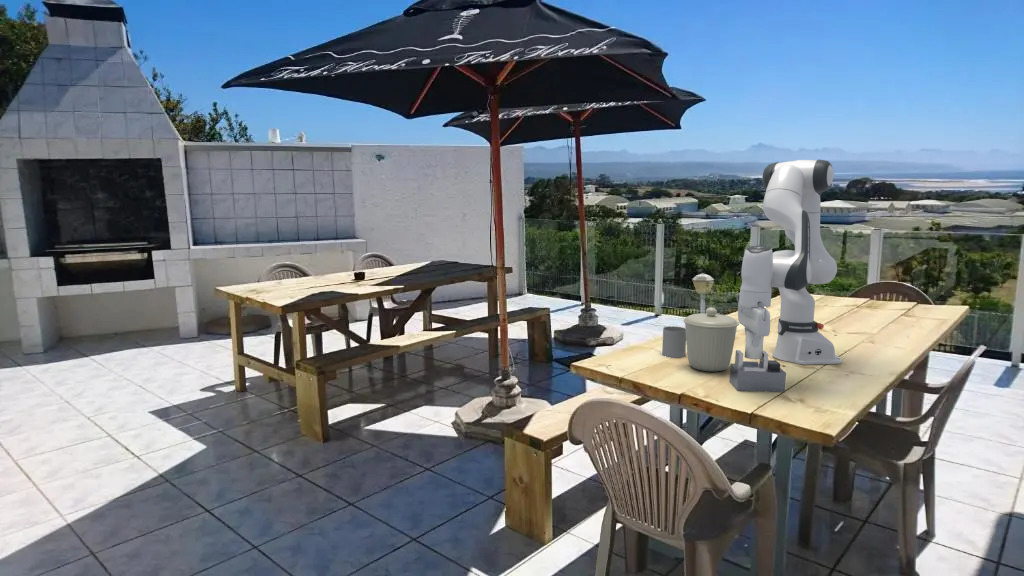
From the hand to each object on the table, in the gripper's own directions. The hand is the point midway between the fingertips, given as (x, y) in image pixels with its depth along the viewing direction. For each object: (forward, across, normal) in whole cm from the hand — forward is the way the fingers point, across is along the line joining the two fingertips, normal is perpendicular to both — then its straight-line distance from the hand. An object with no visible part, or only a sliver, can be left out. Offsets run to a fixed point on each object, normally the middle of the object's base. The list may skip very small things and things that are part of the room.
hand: (752, 344), depth 185 cm
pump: (+4, 0, -1) cm, 4 cm away
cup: (+14, +36, +17) cm, 42 cm away
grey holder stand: (+14, 0, -2) cm, 14 cm away
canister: (+14, +20, +8) cm, 26 cm away
